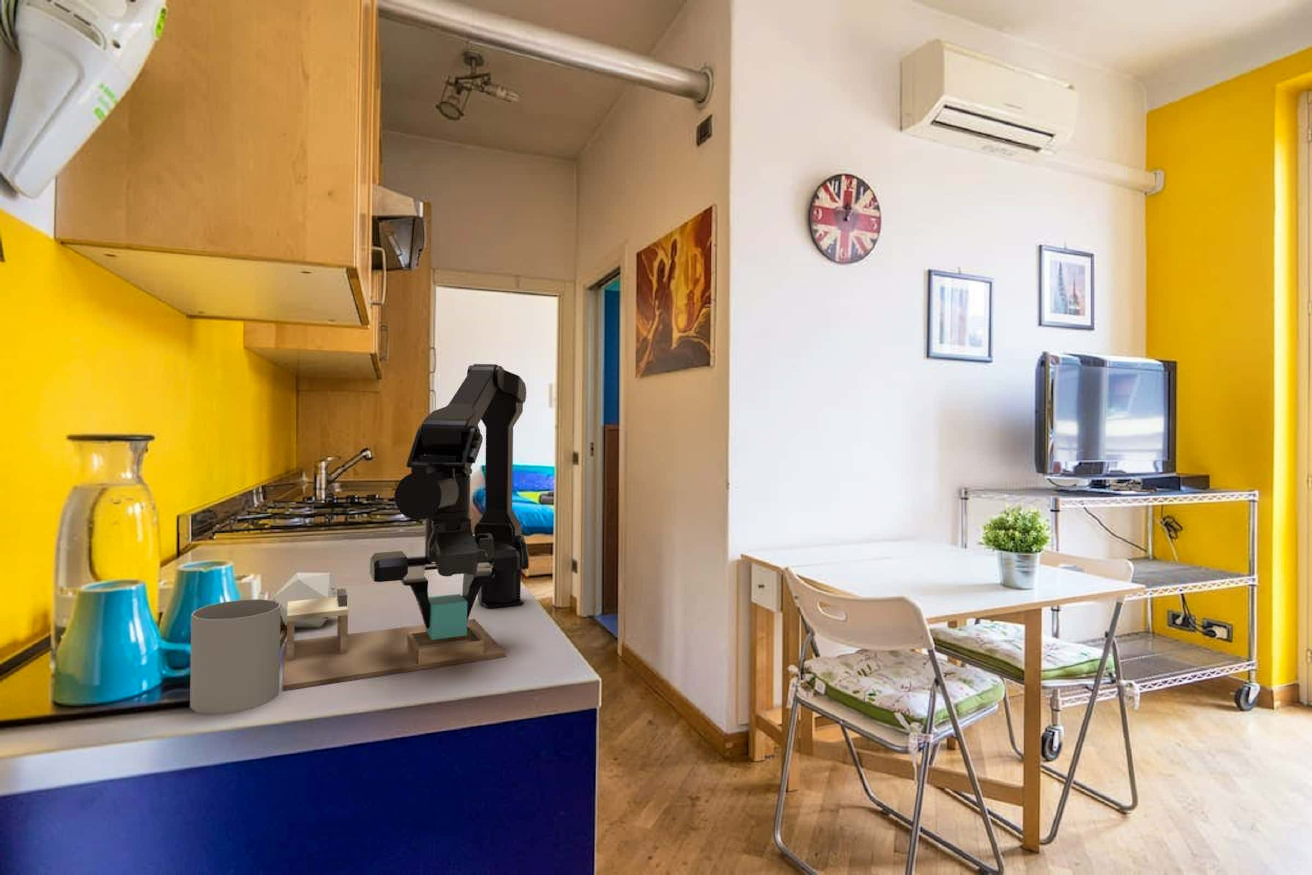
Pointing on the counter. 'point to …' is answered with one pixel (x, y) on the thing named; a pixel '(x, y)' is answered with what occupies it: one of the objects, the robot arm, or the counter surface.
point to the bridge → (319, 610)
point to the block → (447, 616)
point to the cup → (234, 655)
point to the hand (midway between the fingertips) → (445, 625)
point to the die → (305, 594)
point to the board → (383, 654)
